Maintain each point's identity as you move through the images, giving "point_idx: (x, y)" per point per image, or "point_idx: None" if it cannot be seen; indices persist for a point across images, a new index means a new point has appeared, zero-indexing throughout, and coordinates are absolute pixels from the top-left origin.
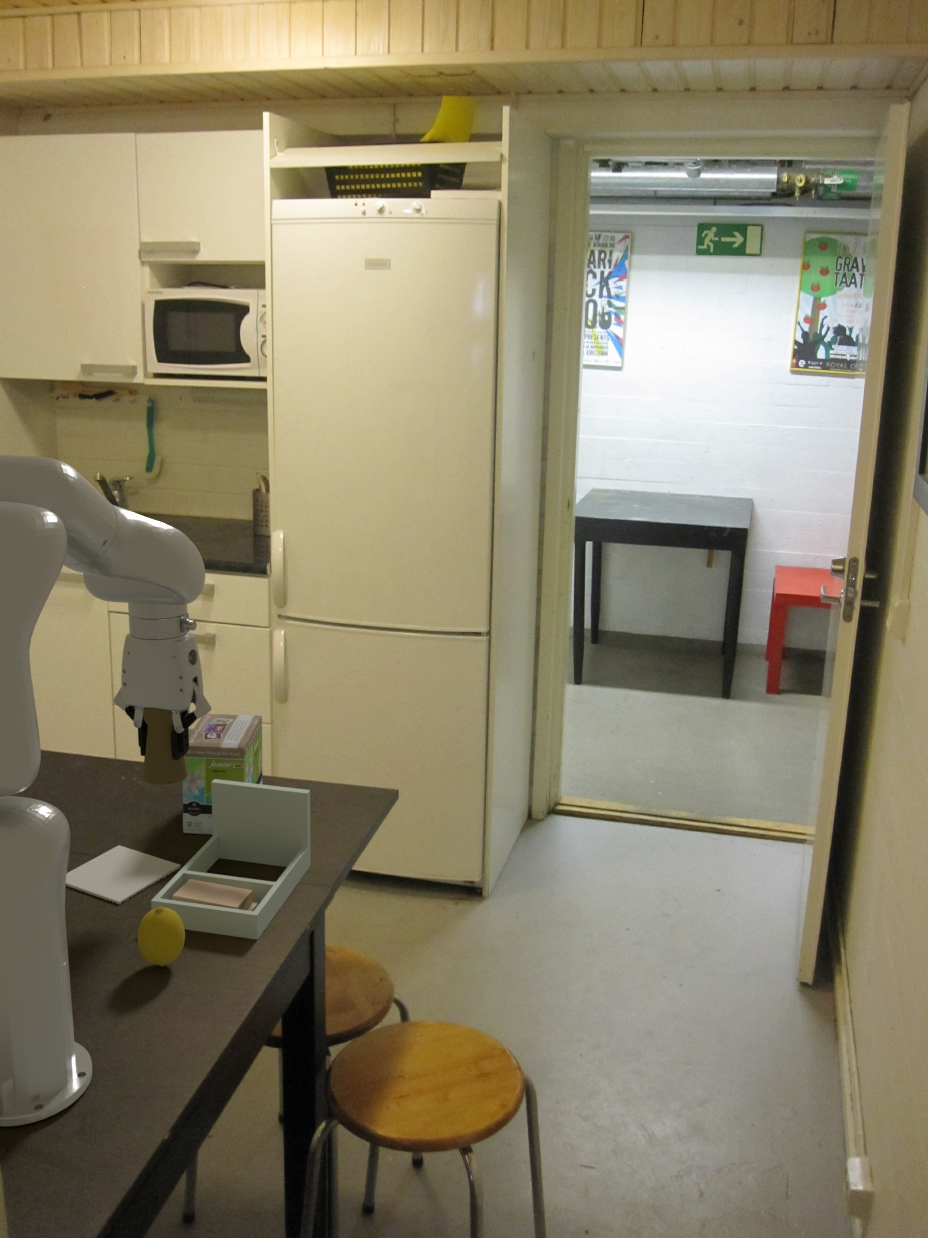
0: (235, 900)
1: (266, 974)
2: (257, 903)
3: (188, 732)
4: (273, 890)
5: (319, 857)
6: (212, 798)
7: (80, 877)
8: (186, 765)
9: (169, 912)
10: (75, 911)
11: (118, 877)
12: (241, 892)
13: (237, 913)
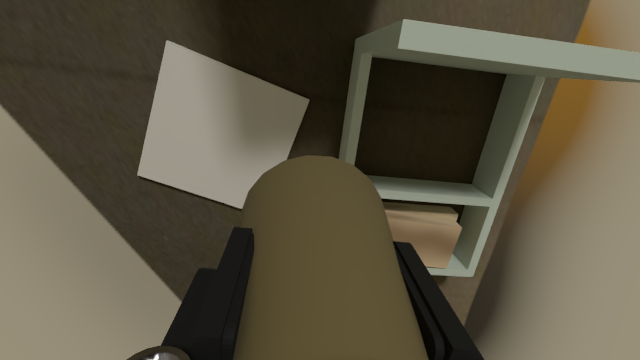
0: (442, 255)
1: (470, 304)
2: (457, 216)
3: (479, 355)
4: (490, 220)
5: (535, 23)
6: (385, 50)
7: (171, 164)
8: (385, 213)
9: None
10: (216, 236)
11: (229, 155)
12: (447, 236)
13: (447, 274)
